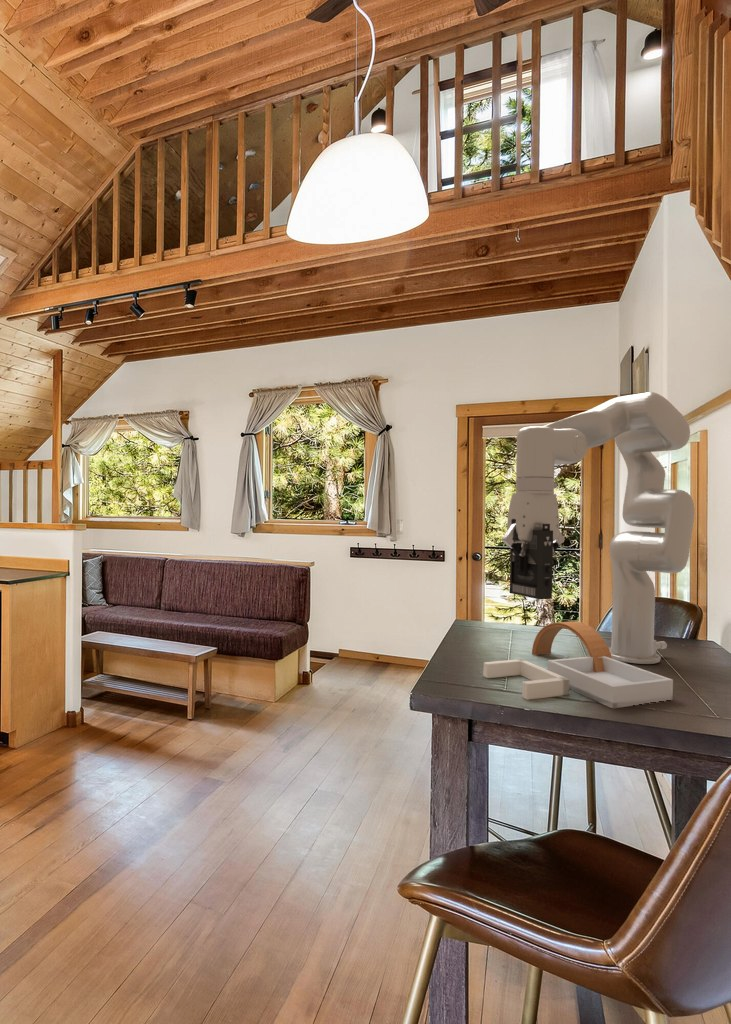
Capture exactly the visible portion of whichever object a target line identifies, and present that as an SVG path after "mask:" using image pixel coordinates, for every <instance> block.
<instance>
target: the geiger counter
mask: <svg viewBox="0 0 731 1024" xmlns="http://www.w3.org/2000/svg"><path fill="white" fill-rule="evenodd" d="M545 526H547V528H545ZM516 538H517V536H515V539H516ZM514 542H515V541H514ZM520 548H521V547H520ZM509 551H510V557H509V560H510V561H509V562H510V563H509V594H512V595H517V596H522V597H527V598H530V599H531V598H532V599H536V600H552V599H553V571H554V569H553V566H554V565H553V561H554V560H553V557H554V555H553V531H552V530H550V524H542V530H533V534H532V541H530V542H529V543H528V547H527V551H526V555H525V556H527V557H528V575H527V576H520V575H516V570H515V555H513V552H512V551H511V550H510V549H509Z"/></svg>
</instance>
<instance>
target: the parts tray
mask: <svg viewBox="0 0 731 1024" xmlns="http://www.w3.org/2000/svg"><path fill="white" fill-rule="evenodd" d="M599 658H602V660H603V665H604V671H602V672H594V671H593V662H594V661H593V657H590V655H589V656H582V657H581V656H580V657H569V658H568V657H567V658H560V659H559V658H557V659H548V660H547V669H546V670H549V671H551V672H553V673H556V674H558V675H560V676H563V677H565V678H567V679H569V690H570V691H573V692H576V693H577V694H579V695H582V696H585V697H586V698H588V699H591V700H593V701H595V702H597V703H599V704H602V705H604V706H606V707H608V708H611V710H612V709H620V708H625V707H628V708H629V707H633V705H635V706H640V705H639V704H642V705H645V704H644V703H649V704H651V703H650V702H656V703H660V702H659V701H664V702H667V701H666V700H671V701H673V699H674V698H673V692H674V691H673V690H674V679H672V678H669V677H666V676H663V675H661V674H657V673H656V672H655V673H654V672H651V671H649V670H645V669H643V668H640V667H638V666H635V665H631V664H630V663H629V664H628V663H627V662H623V661H619V660H615V659H612V658H609V657H606V656H602V657H599Z"/></svg>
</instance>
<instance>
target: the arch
mask: <svg viewBox="0 0 731 1024" xmlns="http://www.w3.org/2000/svg"><path fill="white" fill-rule="evenodd" d="M564 629H566V630H568V631H570V632H571V633H573V634H574V635H576V637H578V639H579V640H580V641H581V642H582V643H583V645H584V647H585V649H586V650H587V652H588V655H589V656H590V657H593V661H594V662H593V671H594V672H602V671H604V665H603V660H602V658H599V657H602V656H606V657H609V658H612V656H611V653H610V651H609V649H608V645H607V643H606V641H605V640H604V639H603V636H601V635H600V633H599V632H597V631H596V629H595V628H593V627H592V626H590V625H589V624H586V623H585V622H580V621H576V620H575V621H572V620H570V621H559V622H552V623H548V624H546V625H545V626H543V627H542V628H541V629H540V630H539V632H538V633H537V634H536V636H535V638H534V641H533V644H532V648H531V649H532V650H531V655H533V656H538V655H540V654H541V655H549V654H551V653H552V646H553V643H554V640H555V638H556V637H557V635H558V634H559V632H560V631H562V630H564ZM548 653H549V654H548Z"/></svg>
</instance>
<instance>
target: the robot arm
mask: <svg viewBox="0 0 731 1024" xmlns="http://www.w3.org/2000/svg"><path fill="white" fill-rule="evenodd" d="M690 437H691V429H690V425H689V422H688V420H687V419H686V417H685V416H684V415H683V413H681V412H680V411H679V410H678V409H677V408H676V407H675V406H674V405H673V404H672V403H671V402H670V401H669V400H668V399H667V398H666V397H664V396H662V395H661V394H659V393H657V392H653V391H647V392H641V393H635V394H627V395H621V396H617V397H613V398H611V399H609V400H606V401H604V402H603V403H601V404H598V405H597V406H594V407H592V408H590V409H587V410H586V411H583V412H580V413H579V412H578V413H576V414H574V415H571V416H568V417H565V418H562V419H560V420H557V421H554V422H550V423H548V424H545V425H530V426H525V427H522V428H520V429H519V430H518V431H517V434H516V457H515V458H516V459H515V460H516V461H515V463H516V464H515V465H516V466H515V471H516V472H515V474H516V475H515V493H512V495H511V498H510V502H509V507H508V513H507V523H506V532H505V534H504V535H503V536H502V538H501V541H502V542H503V543H504V544H505V545H506V546H507V547H508V548H509V551H510V550H511V551H512V552H513V555H515V570H516V575H520V576H527V575H528V557H527V556H525V555H526V551H527V547H528V543H529V542H530V541H532V534H533V530H542V524H550V530H552V531H553V556H554V555H555V552H556V550H558V548H559V547H560V545H561V544H563V543H564V541H565V537H564V535H563V533H562V532H561V531H560V518H559V517H560V515H559V514H560V512H559V506H558V499H557V495H556V493H555V489H557V487H558V483H557V481H555V465H556V466H559V465H572V464H576V463H578V462H580V461H581V460H583V458H585V457H586V455H587V453H588V450H589V449H591V448H596V447H599V446H602V445H604V444H606V443H608V442H610V441H611V440H613V439H614V442H615V445H616V447H617V449H618V450H619V452H620V454H621V456H622V458H623V460H624V463H625V466H626V468H627V478H626V486H625V492H624V497H623V505H622V519H623V521H624V522H625V524H626V525H629V526H630V527H631V526H632V527H636V528H647V529H648V528H650V529H651V528H653V529H664V532H651V531H637V530H636V531H635V530H634V531H633V530H628V531H622V532H619V533H616V535H614V536H613V537H612V539H611V540H610V541H609V551H608V552H609V557H610V563H611V570H612V604H611V605H612V609H611V610H612V611H611V642H610V643H611V646H610V647H608V649H609V651H610V653H611V656H612V659H614V660H617V661H620V662H623V663H629V664H630V663H631V664H638V665H654V664H658V663H659V664H660V662H661V655H660V654H658V653H657V651H658V650H665V649H667V647H668V644H667V642H666V641H664V640H662V641H661V640H660V641H657V640H656V639H655V613H656V611H655V610H656V608H655V607H656V606H655V605H656V589H655V584H654V582H653V580H652V578H651V577H650V575H649V573H648V572H652V573H653V572H654V573H661V574H662V573H664V574H678V573H681V572H682V571H684V569H685V568H686V566H687V564H688V561H689V557H690V555H689V554H690V550H691V543H692V535H693V529H694V522H695V515H696V512H695V504H694V499H693V498H692V496H691V494H690V493H688V491H685V490H682V489H677V488H676V489H672V488H671V489H665V480H666V470H665V468H664V466H663V464H661V462H660V461H659V459H657V458H656V456H655V455H654V454H653V453H655V452H668V451H669V452H670V451H678V450H680V449H682V448H683V447H685V446H686V445H687V443H688V442H689V440H690ZM545 528H547V526H545ZM515 536H517V538H516V539H515ZM514 541H515V542H514ZM520 547H521V548H520Z"/></svg>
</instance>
